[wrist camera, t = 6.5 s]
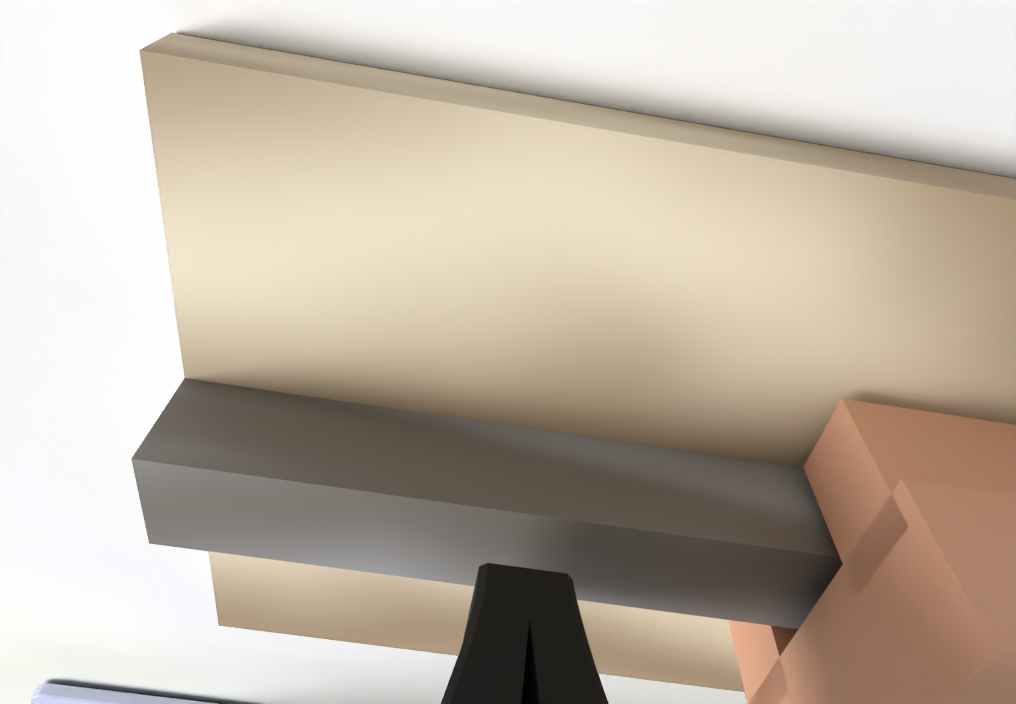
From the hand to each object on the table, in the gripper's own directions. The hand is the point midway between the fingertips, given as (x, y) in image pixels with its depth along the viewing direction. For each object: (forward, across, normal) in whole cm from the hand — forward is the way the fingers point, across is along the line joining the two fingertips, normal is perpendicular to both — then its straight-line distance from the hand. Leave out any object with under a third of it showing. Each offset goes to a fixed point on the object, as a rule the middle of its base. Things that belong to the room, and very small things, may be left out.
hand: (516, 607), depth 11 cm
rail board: (+4, -3, 0) cm, 5 cm away
